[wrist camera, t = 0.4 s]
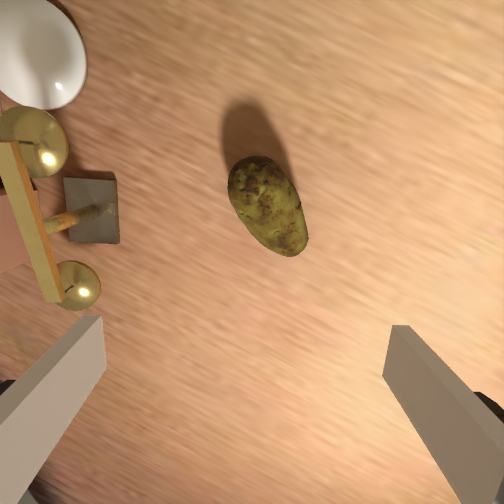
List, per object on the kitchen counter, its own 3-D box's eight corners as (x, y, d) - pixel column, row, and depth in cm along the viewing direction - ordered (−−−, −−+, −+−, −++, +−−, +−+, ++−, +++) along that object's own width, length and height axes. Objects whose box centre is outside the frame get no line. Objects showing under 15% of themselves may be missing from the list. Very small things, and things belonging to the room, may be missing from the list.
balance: (62, 118, 37) (-51, 94, 23) (113, 122, 37) (33, 100, 23) (78, 286, 43) (-3, 347, 29) (122, 288, 43) (63, 351, 29)
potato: (246, 259, 42) (246, 281, 35) (223, 162, 39) (218, 163, 31) (306, 246, 42) (320, 265, 34) (289, 147, 38) (300, 144, 31)
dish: (-22, -7, 33) (-30, -12, 32) (83, 3, 34) (79, -2, 33) (-5, 106, 36) (-12, 105, 35) (91, 113, 37) (87, 112, 36)
